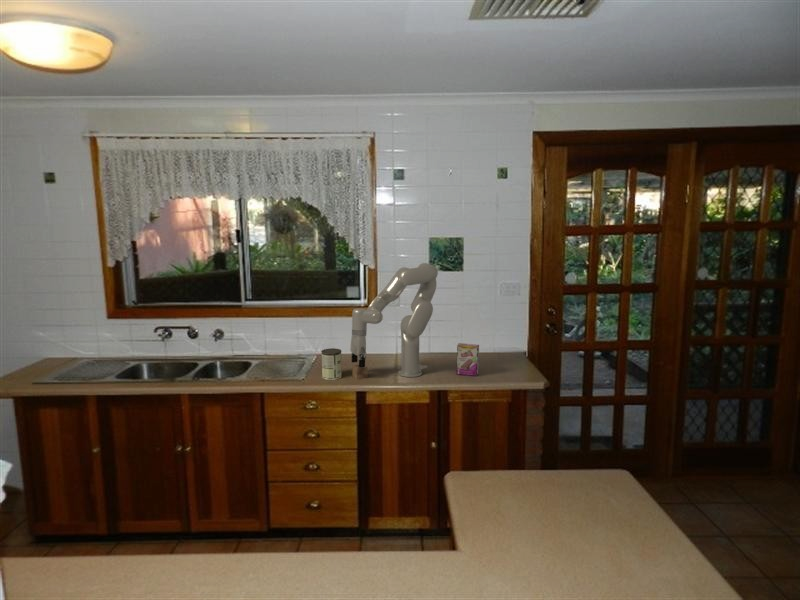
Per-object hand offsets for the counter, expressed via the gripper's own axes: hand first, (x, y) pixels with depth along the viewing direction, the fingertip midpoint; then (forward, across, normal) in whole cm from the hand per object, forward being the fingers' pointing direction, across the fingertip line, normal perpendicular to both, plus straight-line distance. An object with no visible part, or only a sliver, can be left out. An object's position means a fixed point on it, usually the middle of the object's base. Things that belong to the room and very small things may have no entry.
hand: (358, 364), depth 265 cm
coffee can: (+8, -7, -12) cm, 16 cm away
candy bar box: (+5, +22, +54) cm, 58 cm away
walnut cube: (+7, 0, +1) cm, 7 cm away
